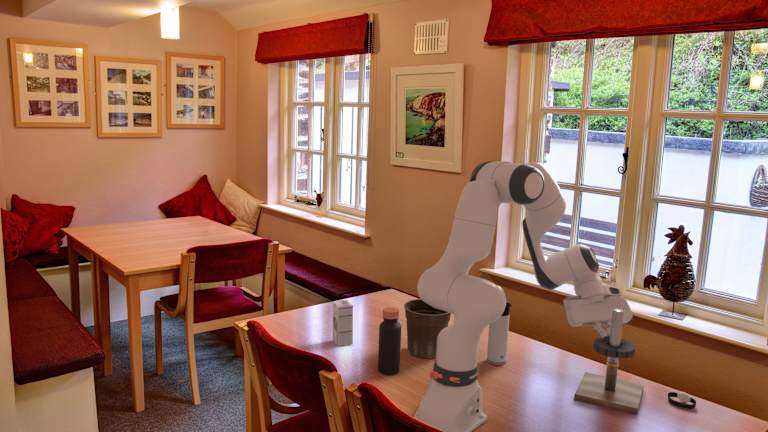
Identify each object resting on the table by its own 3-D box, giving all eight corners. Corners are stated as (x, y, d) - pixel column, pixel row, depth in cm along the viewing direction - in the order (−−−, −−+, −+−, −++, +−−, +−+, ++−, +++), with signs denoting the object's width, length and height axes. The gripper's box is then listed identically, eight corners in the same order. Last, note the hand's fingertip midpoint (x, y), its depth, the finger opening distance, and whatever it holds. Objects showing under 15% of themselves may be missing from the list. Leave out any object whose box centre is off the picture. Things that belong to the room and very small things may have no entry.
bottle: (401, 368, 200) (404, 307, 197) (396, 377, 194) (398, 314, 190) (381, 365, 202) (383, 305, 198) (375, 373, 196) (377, 312, 192)
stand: (636, 415, 175) (637, 408, 175) (573, 400, 183) (574, 393, 182) (643, 390, 190) (643, 384, 190) (584, 378, 198) (585, 371, 197)
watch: (697, 407, 181) (699, 395, 181) (691, 412, 178) (693, 400, 178) (670, 397, 187) (672, 386, 186) (664, 402, 184) (665, 391, 183)
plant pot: (456, 348, 218) (459, 303, 215) (440, 365, 203) (443, 317, 200) (413, 339, 224) (414, 295, 221) (394, 355, 210) (396, 309, 207)
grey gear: (631, 361, 177) (632, 354, 176) (591, 353, 182) (591, 346, 181) (636, 348, 186) (637, 341, 186) (597, 340, 191) (598, 334, 191)
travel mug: (507, 366, 204) (511, 307, 200) (486, 364, 205) (490, 305, 202) (507, 359, 210) (511, 301, 206) (487, 356, 211) (491, 299, 208)
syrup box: (353, 344, 218) (354, 304, 215) (336, 346, 216) (337, 306, 213) (348, 338, 223) (348, 299, 220) (331, 340, 221) (332, 300, 218)
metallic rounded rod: (615, 392, 184) (623, 313, 179) (603, 390, 185) (611, 311, 181) (616, 388, 187) (625, 310, 182) (604, 385, 188) (612, 308, 184)
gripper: (566, 292, 189) (581, 335, 182) (625, 288, 194) (642, 330, 187) (557, 301, 194) (571, 344, 187) (615, 298, 199) (631, 339, 192)
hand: (607, 337), depth 187 cm, fingers closed
